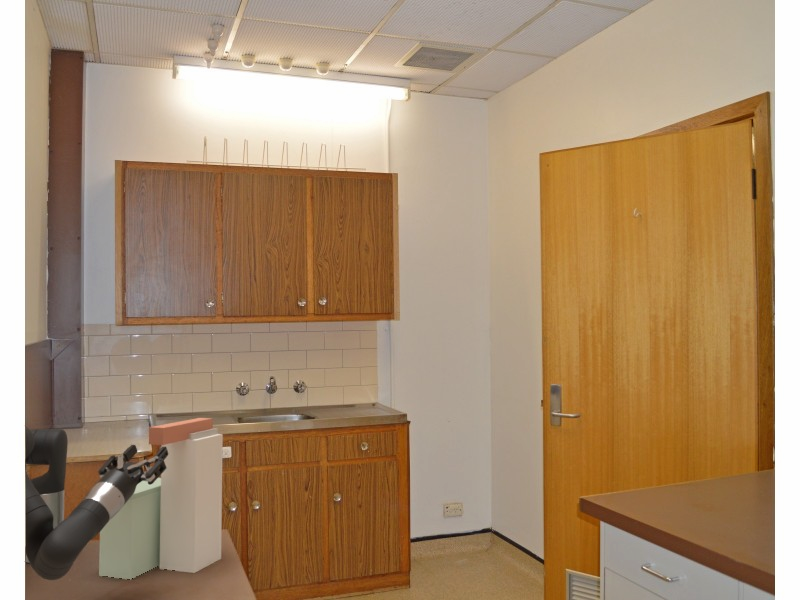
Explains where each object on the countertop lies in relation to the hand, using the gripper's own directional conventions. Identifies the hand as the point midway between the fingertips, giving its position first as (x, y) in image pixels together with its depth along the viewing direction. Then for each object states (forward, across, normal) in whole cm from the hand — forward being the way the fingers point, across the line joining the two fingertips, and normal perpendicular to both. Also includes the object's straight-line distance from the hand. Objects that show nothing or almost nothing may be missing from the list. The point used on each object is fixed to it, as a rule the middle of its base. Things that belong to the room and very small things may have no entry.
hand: (150, 448), depth 170 cm
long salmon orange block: (+11, 0, +6) cm, 13 cm away
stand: (-1, 0, +36) cm, 36 cm away
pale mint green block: (-6, +11, +33) cm, 35 cm away
